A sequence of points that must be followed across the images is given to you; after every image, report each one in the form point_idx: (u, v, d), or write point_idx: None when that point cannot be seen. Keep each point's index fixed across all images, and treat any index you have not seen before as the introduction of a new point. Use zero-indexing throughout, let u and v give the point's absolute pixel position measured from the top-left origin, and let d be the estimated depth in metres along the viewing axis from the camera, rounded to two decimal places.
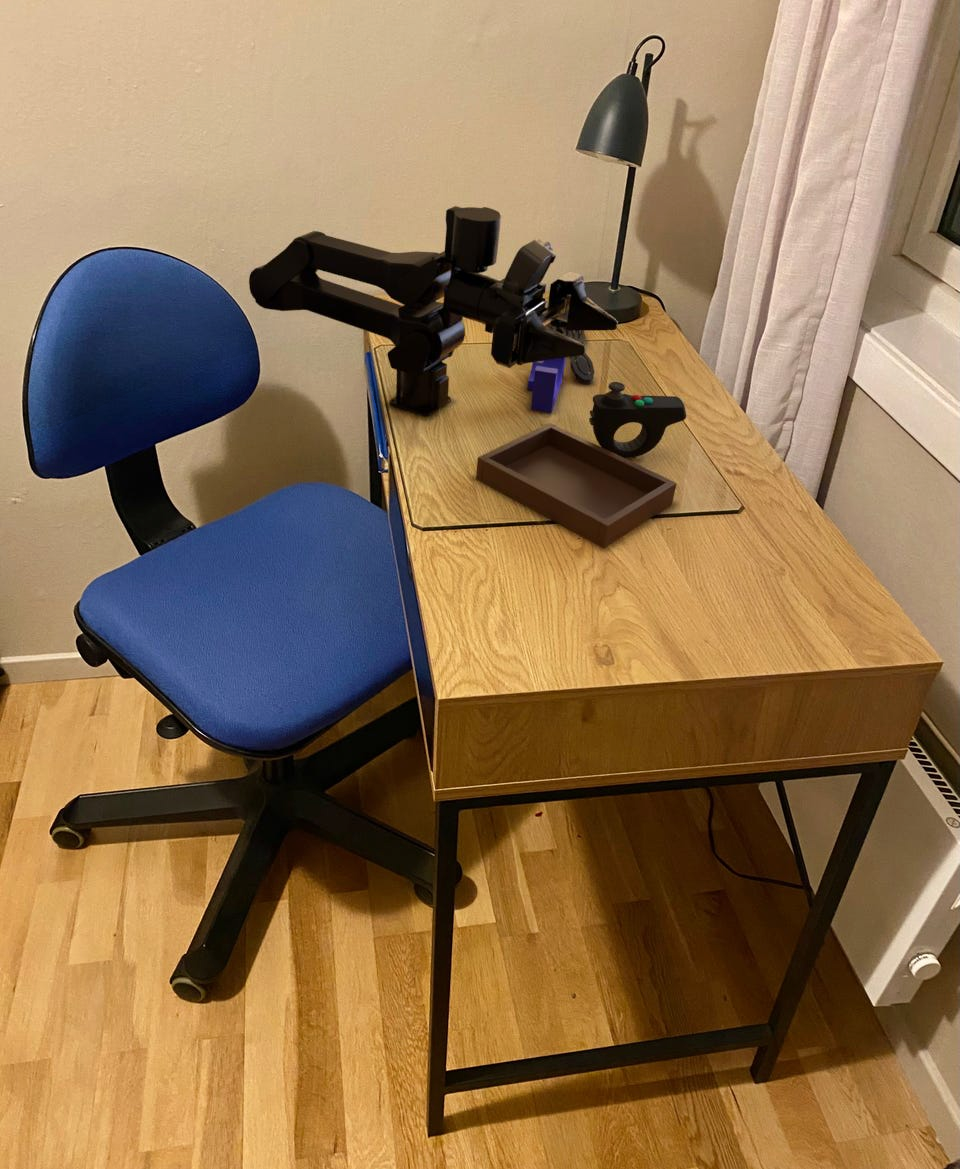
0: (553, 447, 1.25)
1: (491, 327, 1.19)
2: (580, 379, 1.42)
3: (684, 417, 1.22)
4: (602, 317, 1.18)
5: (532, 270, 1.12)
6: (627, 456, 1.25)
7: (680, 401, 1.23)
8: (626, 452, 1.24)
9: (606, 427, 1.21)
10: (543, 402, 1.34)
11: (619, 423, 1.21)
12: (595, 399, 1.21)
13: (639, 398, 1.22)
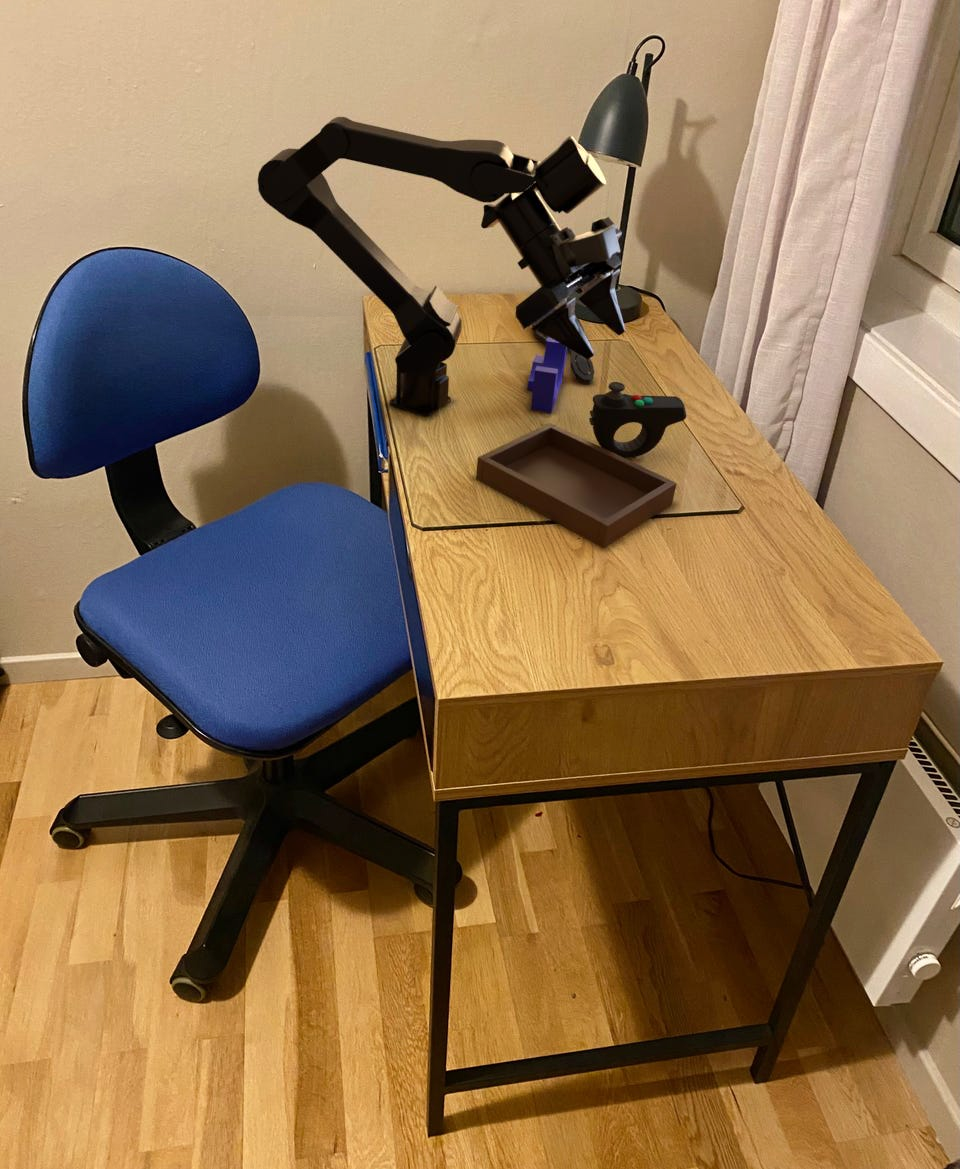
0: (553, 447, 1.25)
1: (525, 265, 1.18)
2: (580, 379, 1.42)
3: (684, 417, 1.22)
4: (616, 318, 1.22)
5: (596, 259, 1.12)
6: (627, 456, 1.25)
7: (680, 401, 1.23)
8: (626, 452, 1.24)
9: (606, 427, 1.21)
10: (543, 402, 1.34)
11: (619, 423, 1.21)
12: (595, 399, 1.21)
13: (639, 398, 1.22)
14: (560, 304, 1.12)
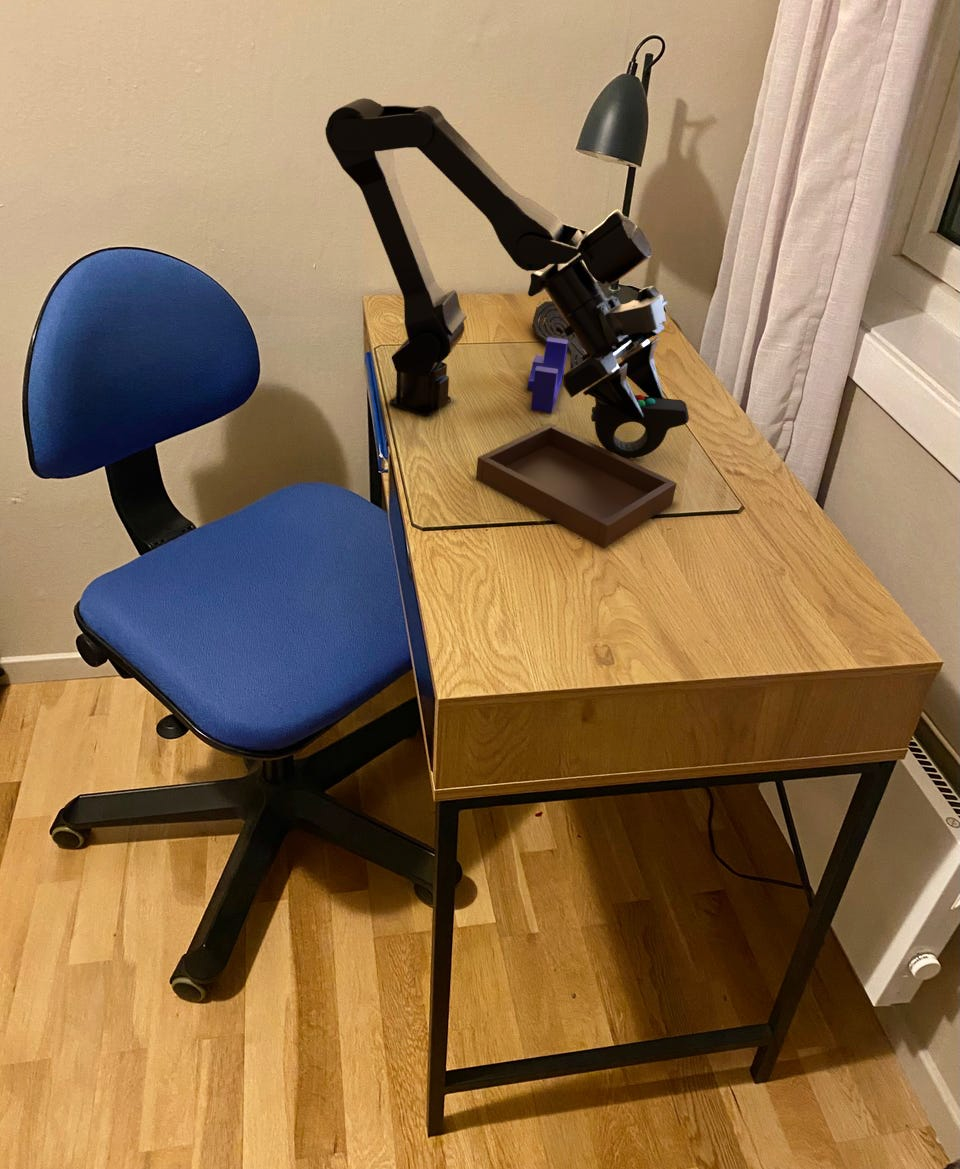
0: (553, 447, 1.25)
1: (571, 333, 1.19)
2: None
3: (685, 421, 1.21)
4: (654, 386, 1.23)
5: (643, 330, 1.14)
6: (627, 456, 1.25)
7: (684, 405, 1.22)
8: (626, 452, 1.25)
9: (605, 424, 1.22)
10: (543, 402, 1.34)
11: (618, 421, 1.21)
12: None
13: (642, 398, 1.22)
14: (613, 370, 1.15)
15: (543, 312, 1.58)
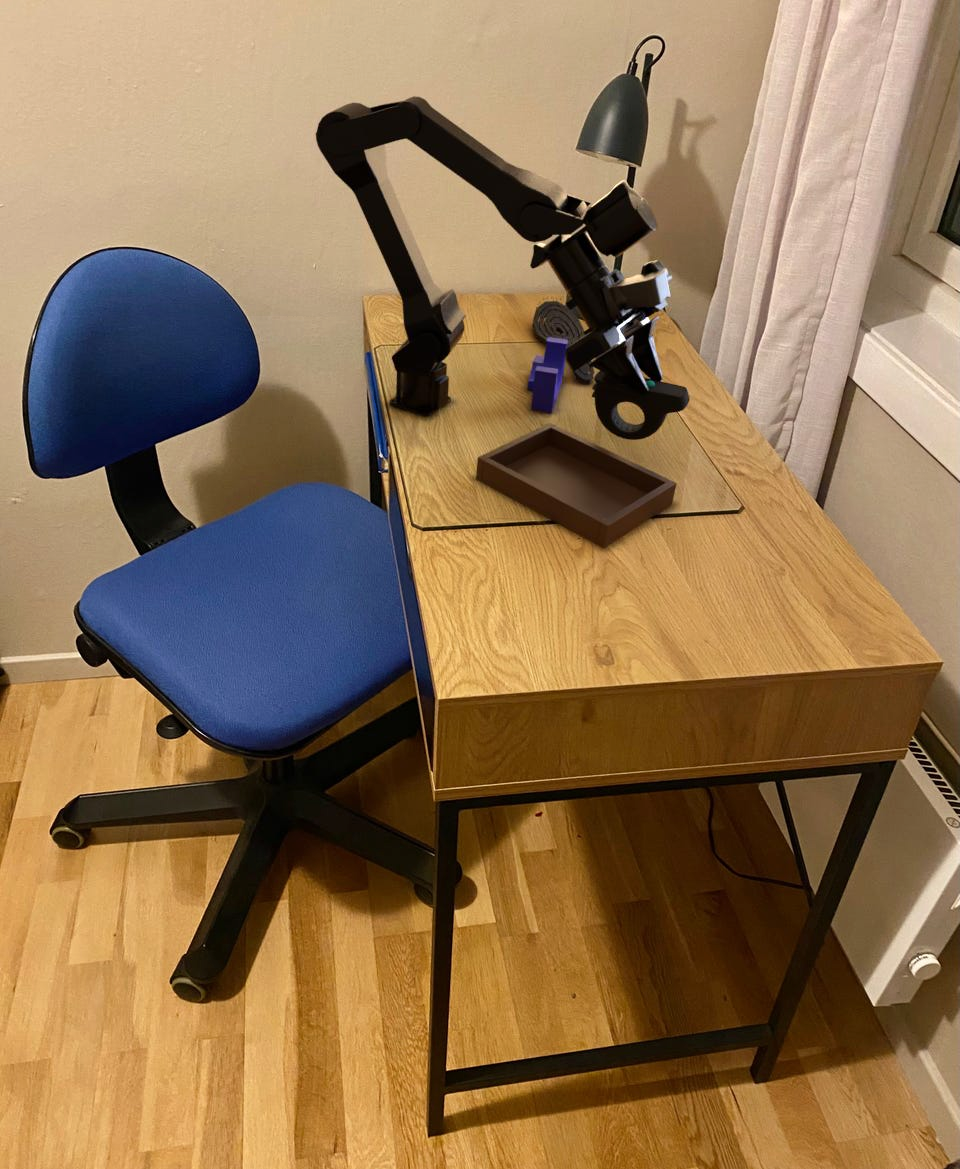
0: (553, 447, 1.25)
1: (573, 306, 1.17)
2: (580, 379, 1.42)
3: (680, 407, 1.18)
4: (653, 366, 1.21)
5: (647, 304, 1.12)
6: (624, 436, 1.24)
7: (684, 391, 1.19)
8: (623, 433, 1.24)
9: (602, 401, 1.22)
10: (543, 402, 1.34)
11: (614, 399, 1.21)
12: (599, 372, 1.22)
13: None
14: (619, 342, 1.14)
15: (543, 312, 1.58)
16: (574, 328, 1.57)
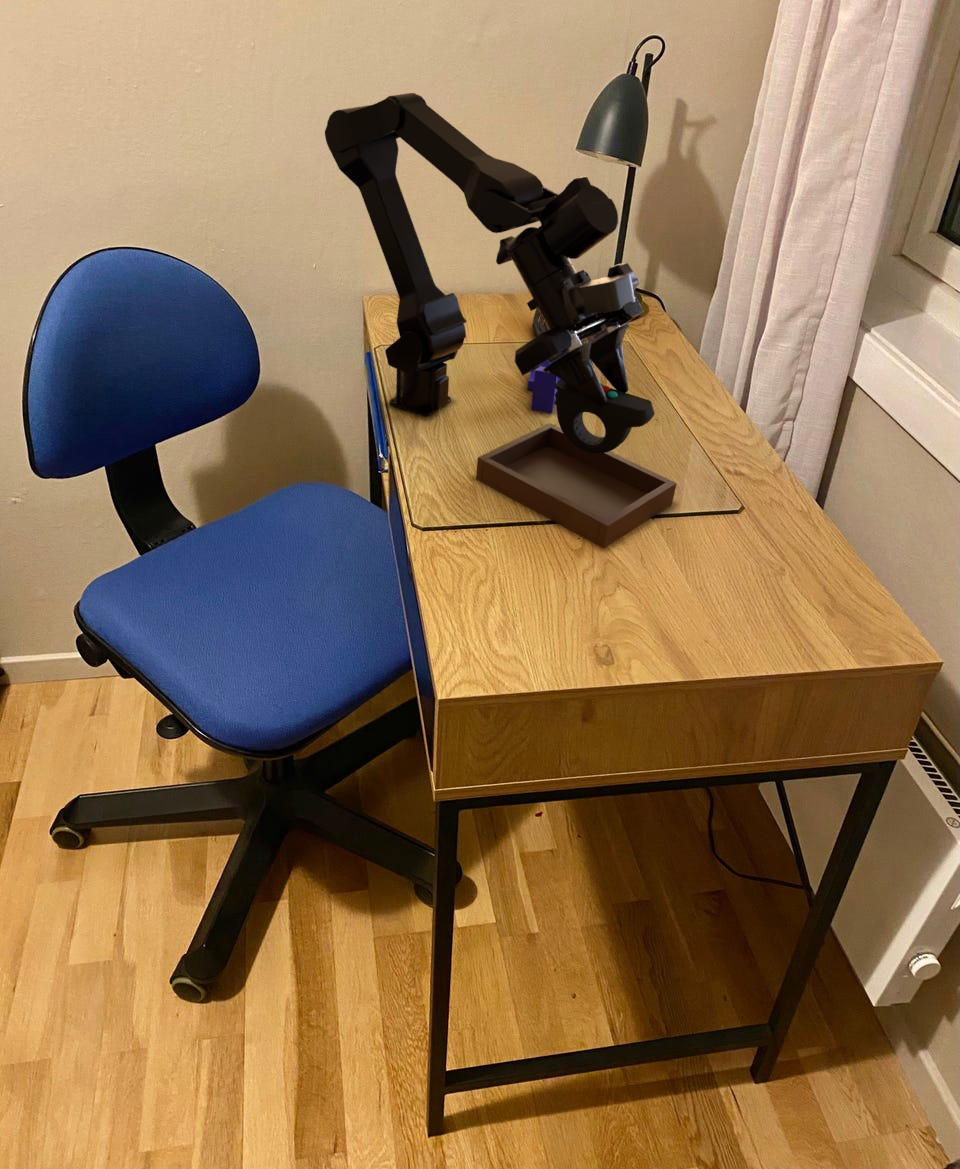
0: (553, 447, 1.25)
1: (534, 307, 1.10)
2: None
3: (639, 422, 1.10)
4: (619, 376, 1.13)
5: (605, 308, 1.04)
6: (585, 449, 1.16)
7: (647, 405, 1.10)
8: (585, 445, 1.16)
9: (562, 409, 1.15)
10: (544, 402, 1.34)
11: (574, 409, 1.14)
12: None
13: (605, 390, 1.12)
14: (573, 347, 1.06)
15: None
16: None
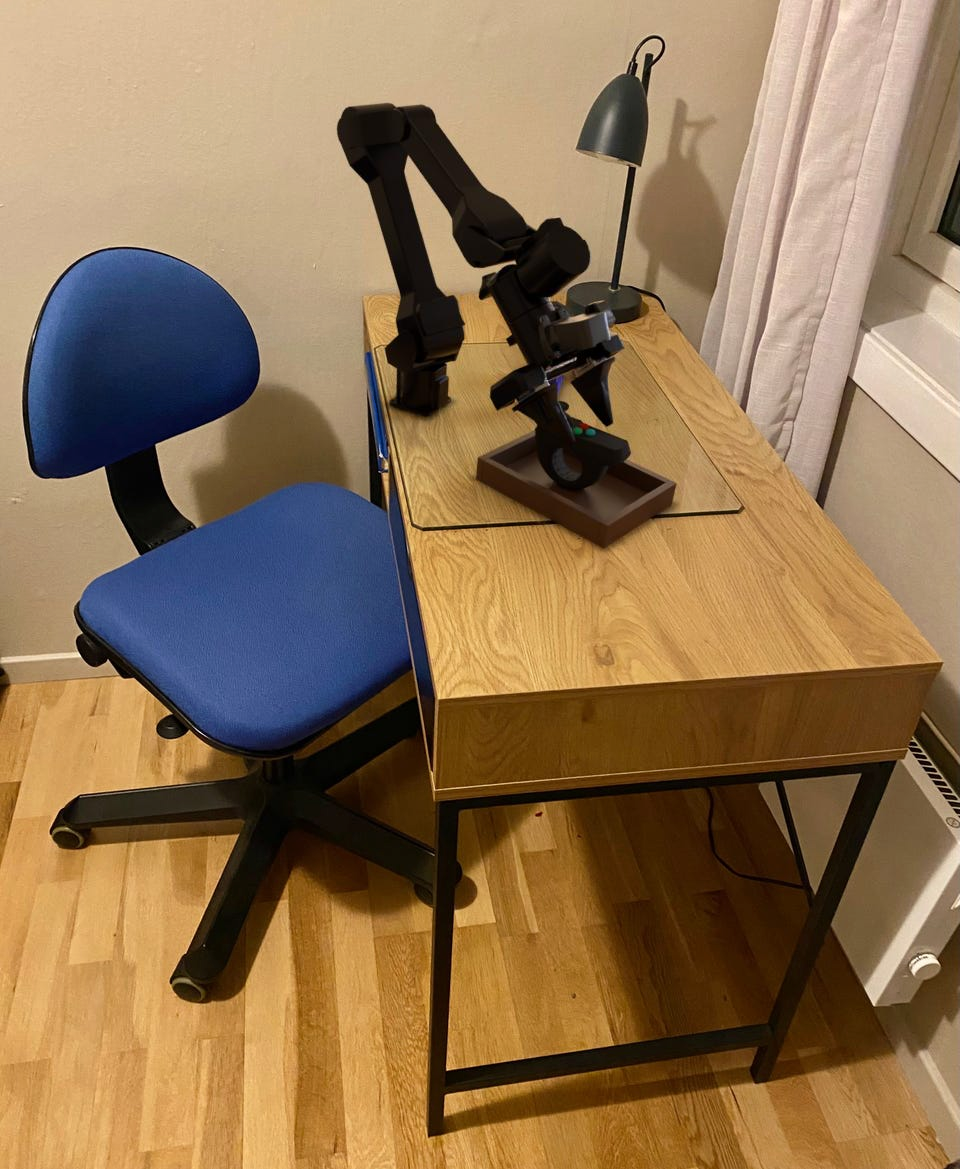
0: None
1: (513, 343, 1.11)
2: None
3: (614, 462, 1.10)
4: (604, 408, 1.14)
5: (578, 346, 1.05)
6: (562, 484, 1.17)
7: (623, 445, 1.11)
8: (562, 480, 1.17)
9: (541, 443, 1.15)
10: None
11: (552, 444, 1.14)
12: None
13: (583, 427, 1.13)
14: (539, 387, 1.06)
15: None
16: None
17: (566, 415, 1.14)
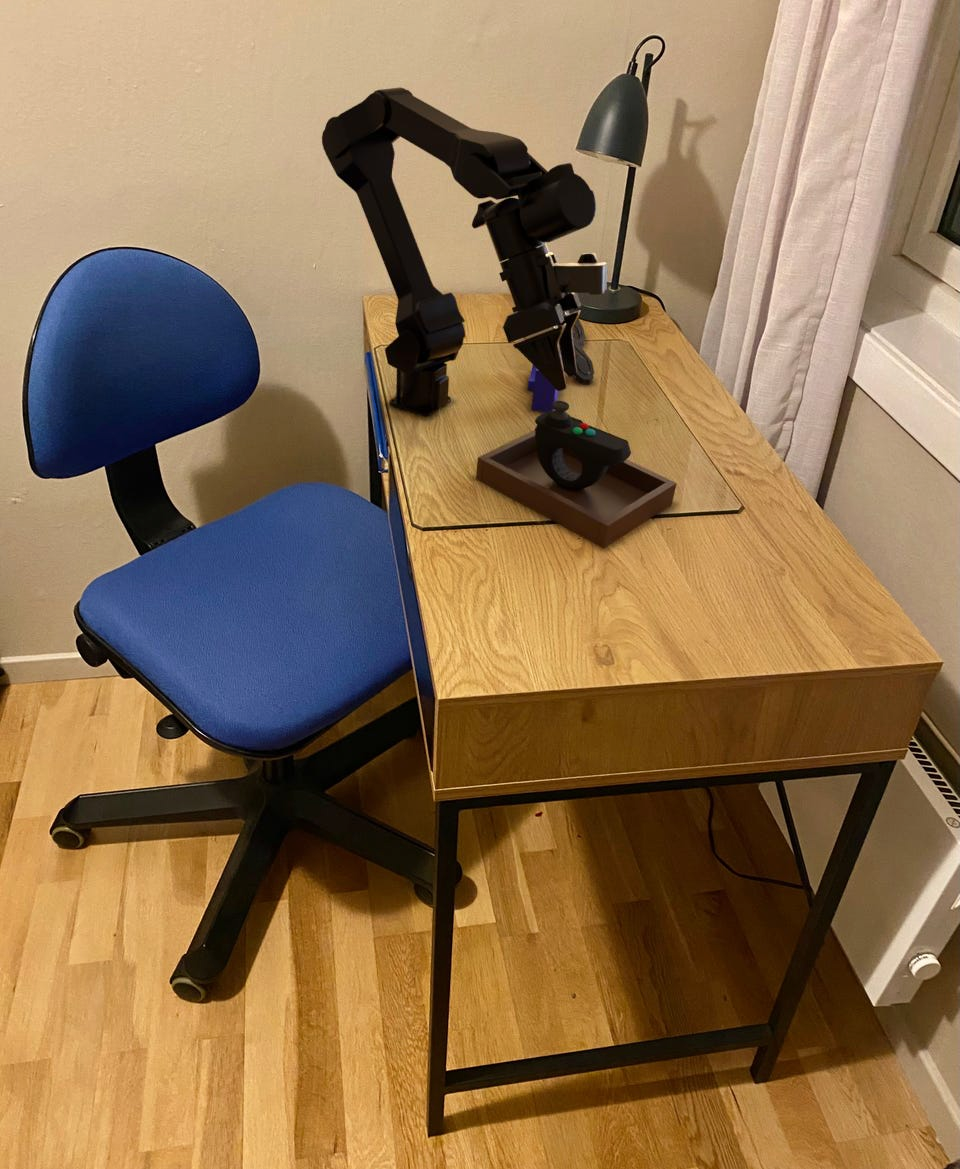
0: None
1: (507, 278, 1.09)
2: (580, 379, 1.42)
3: (614, 461, 1.10)
4: (571, 358, 1.17)
5: (591, 290, 1.07)
6: (562, 484, 1.17)
7: (623, 445, 1.11)
8: (562, 480, 1.17)
9: (541, 443, 1.15)
10: (544, 402, 1.34)
11: (552, 444, 1.14)
12: (543, 413, 1.16)
13: (584, 427, 1.13)
14: (554, 326, 1.05)
15: None
16: (574, 328, 1.57)
17: (566, 415, 1.14)
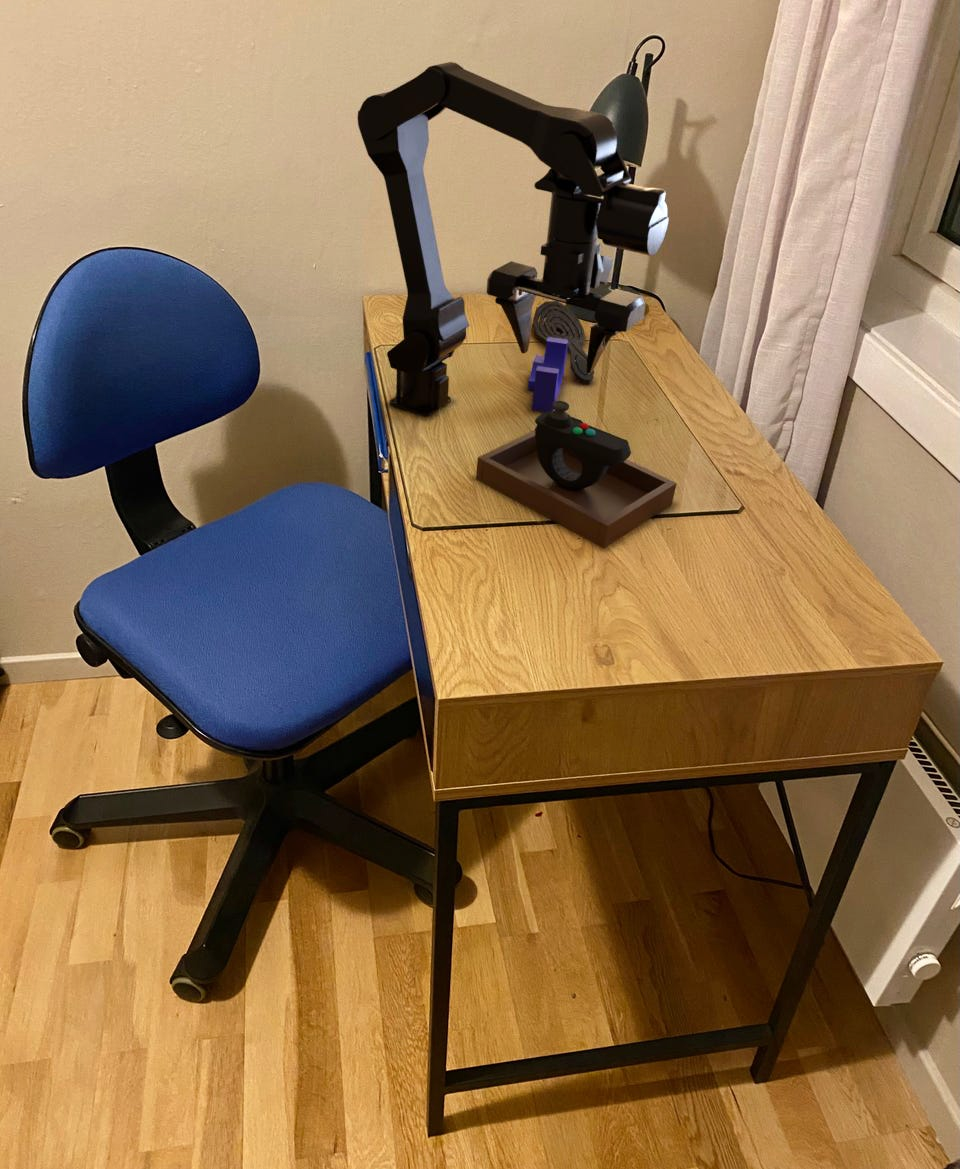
0: None
1: (580, 261, 1.09)
2: (580, 379, 1.42)
3: (614, 461, 1.10)
4: (528, 336, 1.20)
5: (606, 281, 1.17)
6: (562, 484, 1.17)
7: (623, 445, 1.11)
8: (562, 480, 1.17)
9: (541, 443, 1.15)
10: (544, 402, 1.34)
11: (552, 444, 1.14)
12: (543, 413, 1.16)
13: (584, 427, 1.13)
14: None
15: (543, 312, 1.58)
16: (574, 328, 1.57)
17: (566, 415, 1.14)
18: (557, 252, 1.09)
